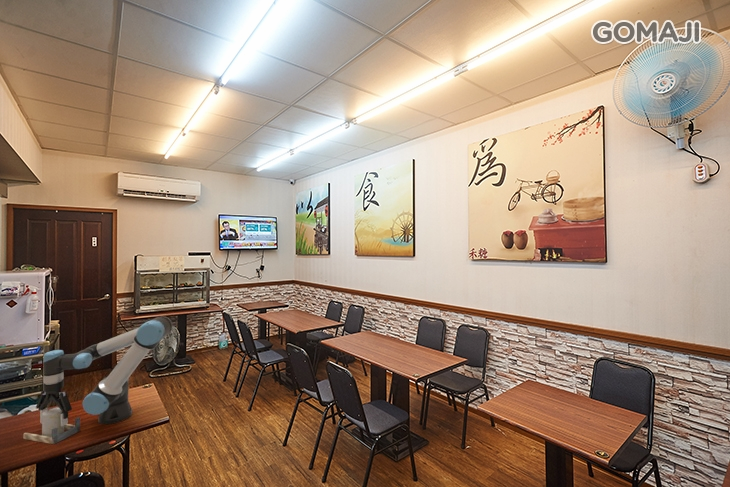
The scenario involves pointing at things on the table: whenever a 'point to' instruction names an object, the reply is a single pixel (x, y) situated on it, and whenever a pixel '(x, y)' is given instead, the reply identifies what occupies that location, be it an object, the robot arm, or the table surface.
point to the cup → (51, 422)
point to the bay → (55, 433)
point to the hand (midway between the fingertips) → (54, 423)
